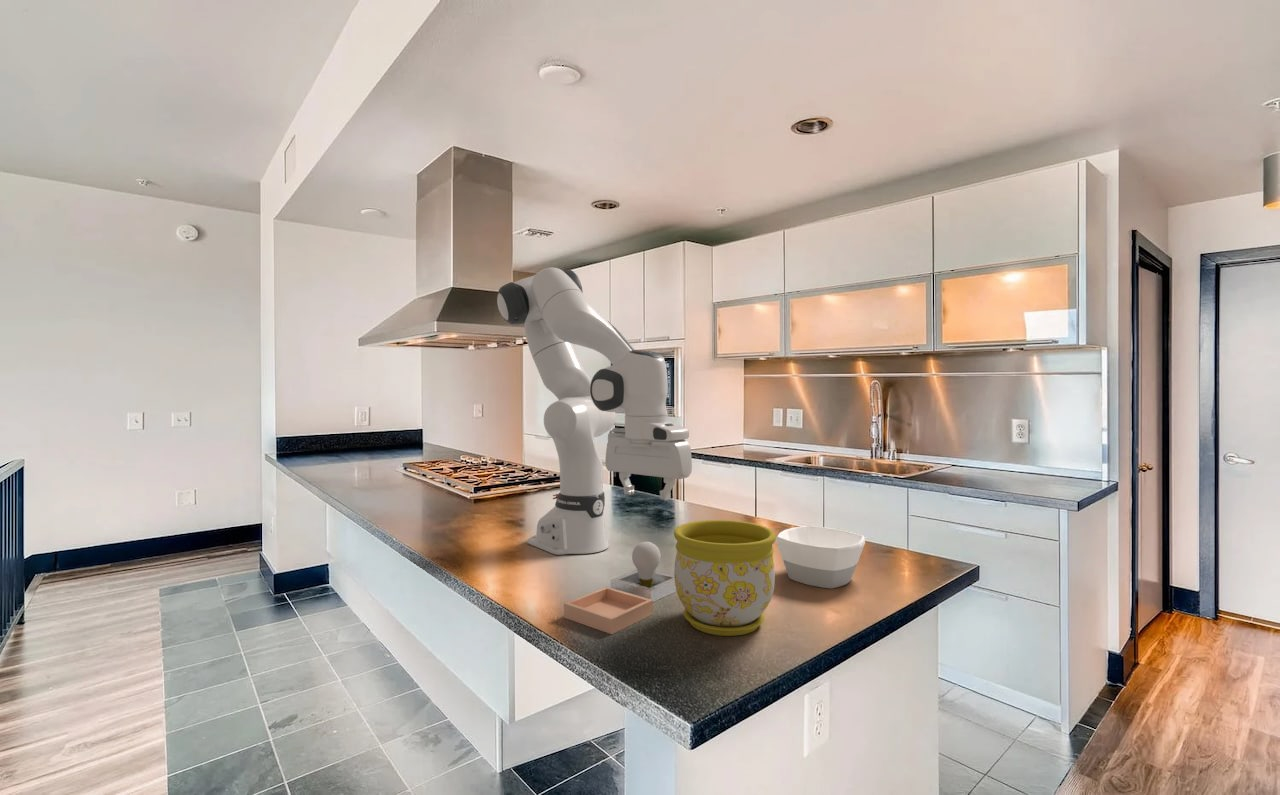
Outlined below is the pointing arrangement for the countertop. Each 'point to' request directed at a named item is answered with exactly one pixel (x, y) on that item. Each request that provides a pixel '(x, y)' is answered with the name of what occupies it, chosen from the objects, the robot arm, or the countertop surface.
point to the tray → (608, 609)
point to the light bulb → (646, 562)
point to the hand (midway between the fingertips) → (646, 496)
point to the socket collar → (629, 585)
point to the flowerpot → (724, 574)
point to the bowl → (820, 555)
